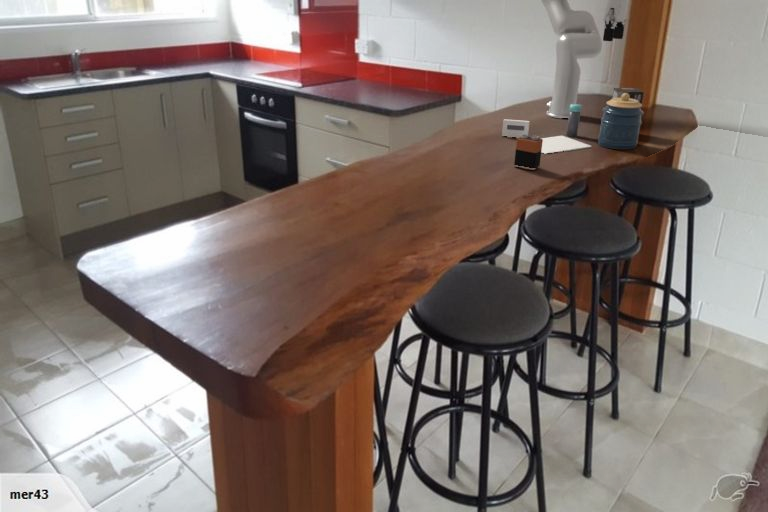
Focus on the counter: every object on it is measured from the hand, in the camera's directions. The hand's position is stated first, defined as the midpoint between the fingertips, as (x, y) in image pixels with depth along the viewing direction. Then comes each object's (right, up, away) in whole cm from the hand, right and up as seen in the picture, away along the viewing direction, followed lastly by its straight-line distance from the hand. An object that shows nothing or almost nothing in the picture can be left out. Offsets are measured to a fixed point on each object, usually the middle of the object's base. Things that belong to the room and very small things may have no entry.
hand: (612, 39), depth 213 cm
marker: (-12, -32, +8) cm, 35 cm away
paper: (-21, -37, -3) cm, 43 cm away
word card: (-33, -33, +6) cm, 47 cm away
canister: (0, -37, -2) cm, 37 cm away
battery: (-36, -48, -25) cm, 65 cm away
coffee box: (+7, -31, +10) cm, 34 cm away
